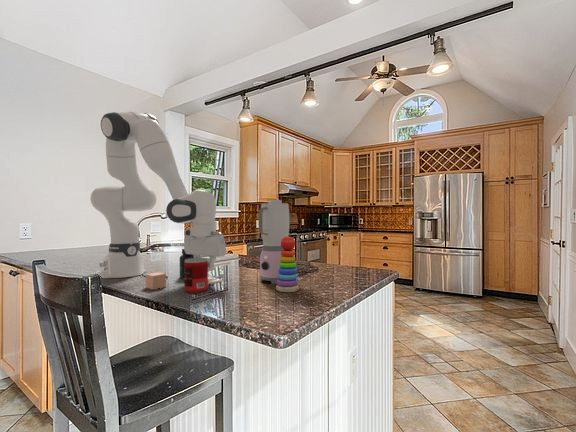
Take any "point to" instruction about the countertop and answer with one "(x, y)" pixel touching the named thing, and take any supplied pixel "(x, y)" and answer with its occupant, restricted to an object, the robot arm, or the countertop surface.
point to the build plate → (213, 280)
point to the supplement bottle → (182, 260)
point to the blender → (272, 237)
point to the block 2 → (208, 262)
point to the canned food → (196, 275)
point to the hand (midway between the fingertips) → (204, 266)
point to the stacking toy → (287, 267)
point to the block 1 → (155, 280)
